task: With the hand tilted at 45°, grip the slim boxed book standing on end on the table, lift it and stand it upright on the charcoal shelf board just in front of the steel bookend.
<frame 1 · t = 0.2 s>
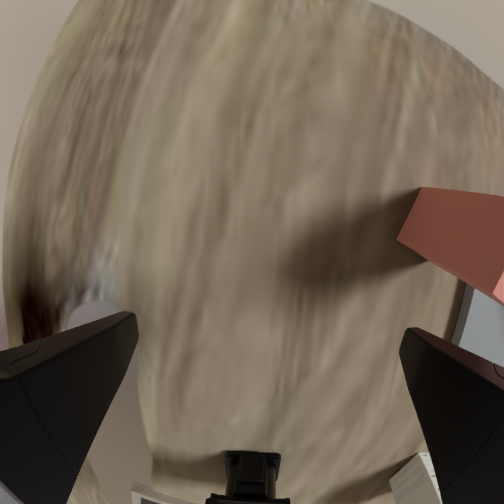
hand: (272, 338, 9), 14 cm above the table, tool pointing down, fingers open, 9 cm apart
boxed book: (426, 224, 22), on the table
supplement box: (418, 465, 30), on the table
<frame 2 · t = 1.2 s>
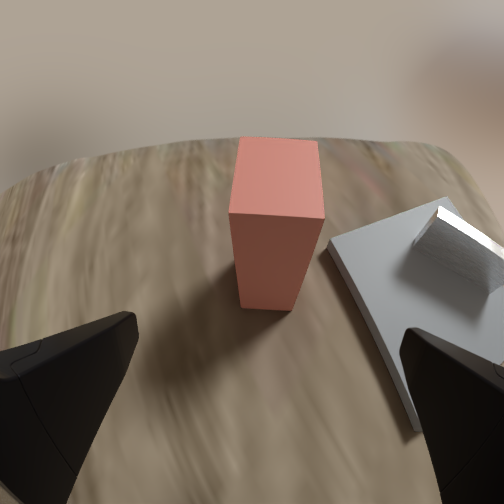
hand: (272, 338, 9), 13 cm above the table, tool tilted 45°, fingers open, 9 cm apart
boxed book: (268, 280, 24), on the table
shelf board: (439, 300, 23), on the table
bookend: (447, 274, 24), resting on shelf board
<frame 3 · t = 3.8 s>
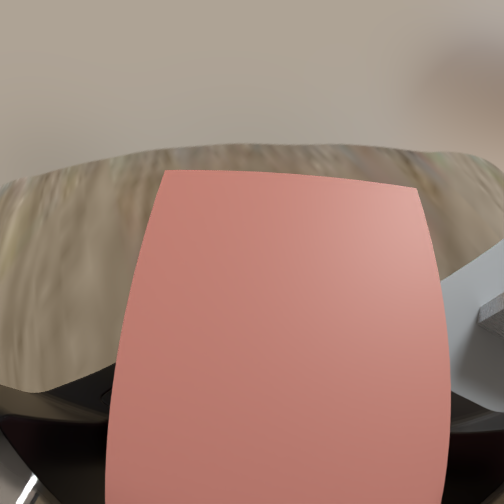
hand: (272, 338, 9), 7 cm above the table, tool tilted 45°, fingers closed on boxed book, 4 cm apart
boxed book: (263, 389, 14), on the table, touching gripper
shelf board: (497, 388, 13), on the table
when the fingers open (9 cm above the table, at t = 7.8 s): boxed book stays where it is, resting on shelf board.
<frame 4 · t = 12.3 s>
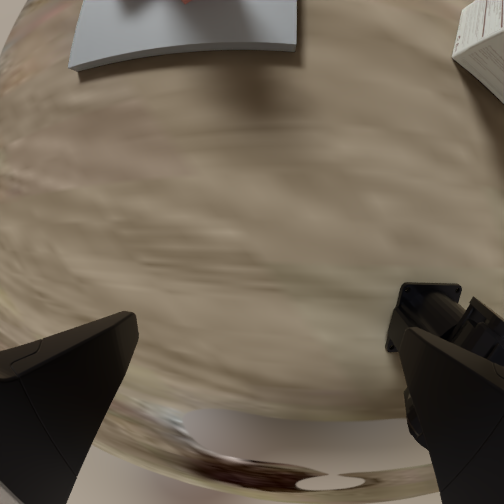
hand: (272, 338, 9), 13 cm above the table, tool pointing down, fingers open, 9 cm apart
supplement box: (483, 55, 15), on the table
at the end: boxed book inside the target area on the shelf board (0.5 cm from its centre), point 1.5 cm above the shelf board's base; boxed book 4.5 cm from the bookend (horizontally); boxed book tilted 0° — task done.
